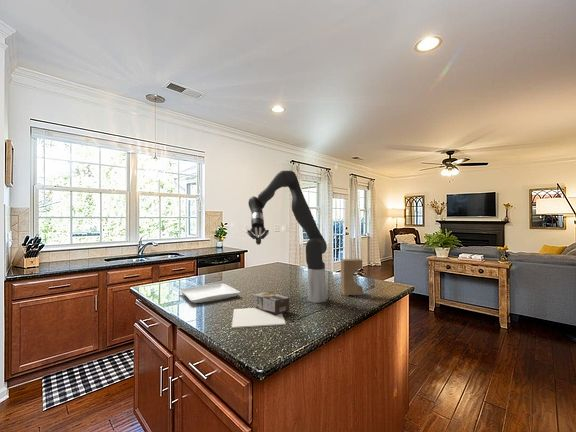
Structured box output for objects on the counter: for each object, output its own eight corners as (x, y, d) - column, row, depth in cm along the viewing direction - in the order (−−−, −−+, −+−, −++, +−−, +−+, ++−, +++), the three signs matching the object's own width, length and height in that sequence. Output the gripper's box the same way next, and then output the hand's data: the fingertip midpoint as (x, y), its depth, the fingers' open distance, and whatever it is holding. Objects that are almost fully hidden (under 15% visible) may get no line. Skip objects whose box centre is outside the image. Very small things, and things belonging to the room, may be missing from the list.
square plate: (241, 298, 154) (241, 291, 154) (190, 307, 138) (190, 299, 138) (223, 288, 176) (223, 282, 176) (178, 295, 161) (178, 288, 161)
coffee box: (253, 307, 135) (274, 315, 123) (253, 294, 135) (274, 301, 123) (268, 303, 141) (289, 311, 129) (268, 291, 141) (289, 297, 130)
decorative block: (358, 292, 163) (358, 258, 163) (362, 295, 157) (362, 260, 157) (340, 293, 161) (340, 259, 161) (344, 296, 155) (344, 260, 155)
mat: (279, 307, 136) (279, 306, 136) (285, 324, 115) (285, 323, 115) (233, 310, 133) (233, 309, 133) (231, 328, 111) (231, 327, 111)
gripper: (246, 217, 163) (246, 239, 151) (268, 217, 165) (270, 239, 153) (246, 225, 168) (246, 248, 156) (268, 225, 171) (270, 247, 158)
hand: (258, 243), depth 155 cm, fingers closed
